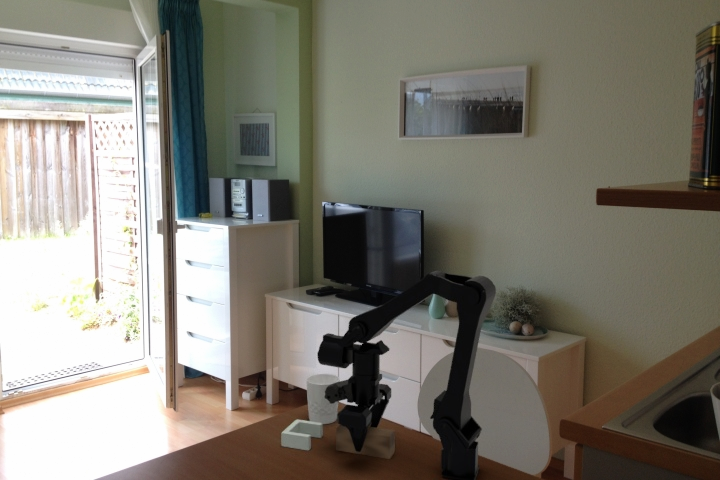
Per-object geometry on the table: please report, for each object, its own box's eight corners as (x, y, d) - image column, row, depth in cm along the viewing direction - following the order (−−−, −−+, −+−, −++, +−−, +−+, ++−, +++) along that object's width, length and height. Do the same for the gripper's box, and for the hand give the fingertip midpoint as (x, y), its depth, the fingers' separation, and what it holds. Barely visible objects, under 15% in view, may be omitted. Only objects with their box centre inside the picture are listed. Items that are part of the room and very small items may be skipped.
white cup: (335, 427, 151) (335, 385, 149) (302, 424, 152) (302, 383, 151) (342, 414, 158) (342, 374, 157) (311, 411, 160) (311, 372, 159)
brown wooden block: (394, 452, 138) (394, 430, 137) (389, 459, 135) (390, 436, 134) (342, 444, 142) (342, 422, 141) (336, 450, 139) (336, 428, 138)
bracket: (322, 435, 146) (322, 423, 145) (308, 450, 138) (308, 437, 138) (296, 431, 148) (296, 419, 147) (281, 446, 140) (281, 432, 140)
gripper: (345, 355, 147) (345, 420, 149) (313, 381, 130) (313, 455, 132) (392, 360, 144) (391, 427, 146) (365, 387, 126) (365, 463, 128)
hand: (365, 442), depth 138 cm, fingers open, 9 cm apart
